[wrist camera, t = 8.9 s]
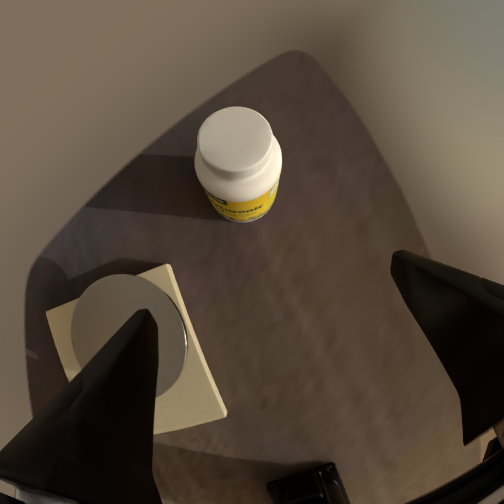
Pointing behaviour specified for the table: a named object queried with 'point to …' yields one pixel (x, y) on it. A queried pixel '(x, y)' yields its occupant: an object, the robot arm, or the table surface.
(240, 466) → the table surface
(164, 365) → the scale pan
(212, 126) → the supplement bottle
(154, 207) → the table surface
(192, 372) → the scale
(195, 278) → the table surface
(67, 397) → the robot arm
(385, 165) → the table surface
